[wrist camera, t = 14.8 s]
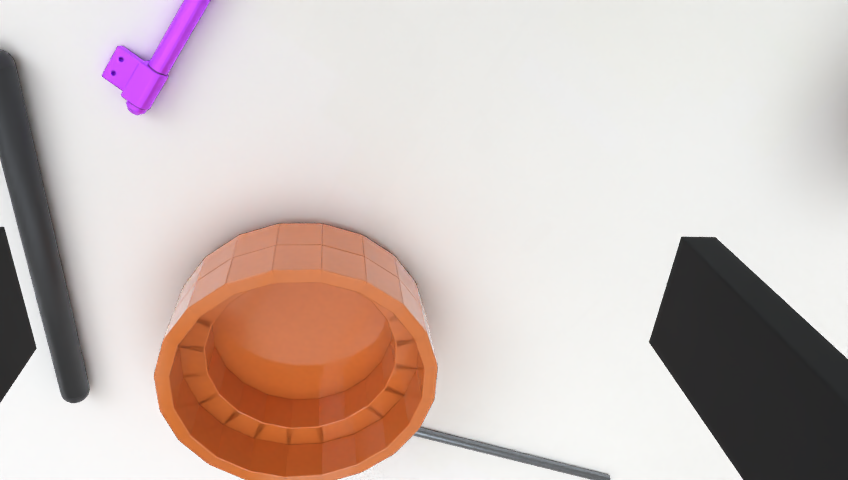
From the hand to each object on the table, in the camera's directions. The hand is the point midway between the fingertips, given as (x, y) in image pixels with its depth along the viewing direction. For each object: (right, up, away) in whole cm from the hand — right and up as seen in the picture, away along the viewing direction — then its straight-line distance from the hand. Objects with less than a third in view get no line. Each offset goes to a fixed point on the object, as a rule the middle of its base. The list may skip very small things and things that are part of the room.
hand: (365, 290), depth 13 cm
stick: (-20, +1, +23) cm, 30 cm away
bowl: (-7, -5, +28) cm, 29 cm away
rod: (+8, -15, +37) cm, 40 cm away
